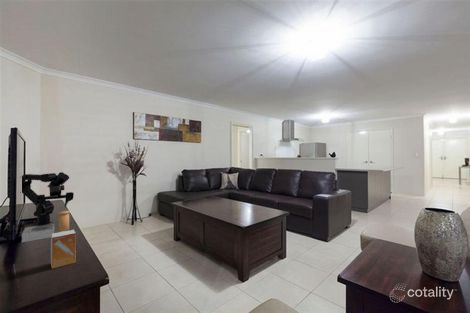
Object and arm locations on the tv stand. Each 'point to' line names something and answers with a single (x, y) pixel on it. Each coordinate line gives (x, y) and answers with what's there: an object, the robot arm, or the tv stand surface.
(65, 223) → the plug
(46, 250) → the tv stand surface
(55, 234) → the small box
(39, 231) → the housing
